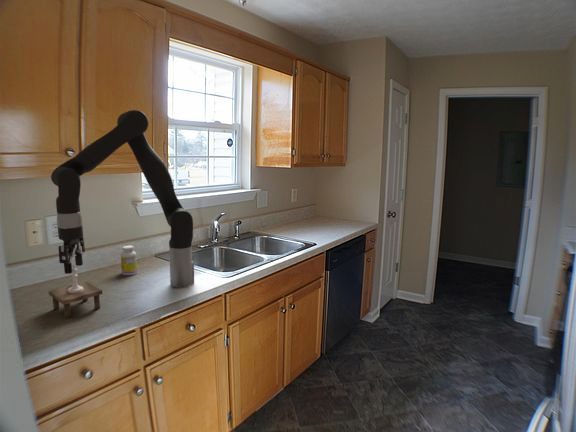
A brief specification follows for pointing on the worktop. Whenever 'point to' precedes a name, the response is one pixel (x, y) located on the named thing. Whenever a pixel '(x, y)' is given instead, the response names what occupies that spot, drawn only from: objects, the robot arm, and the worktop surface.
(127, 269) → the supplement bottle
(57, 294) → the small wooden table
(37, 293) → the worktop surface
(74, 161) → the robot arm
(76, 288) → the chess piece
